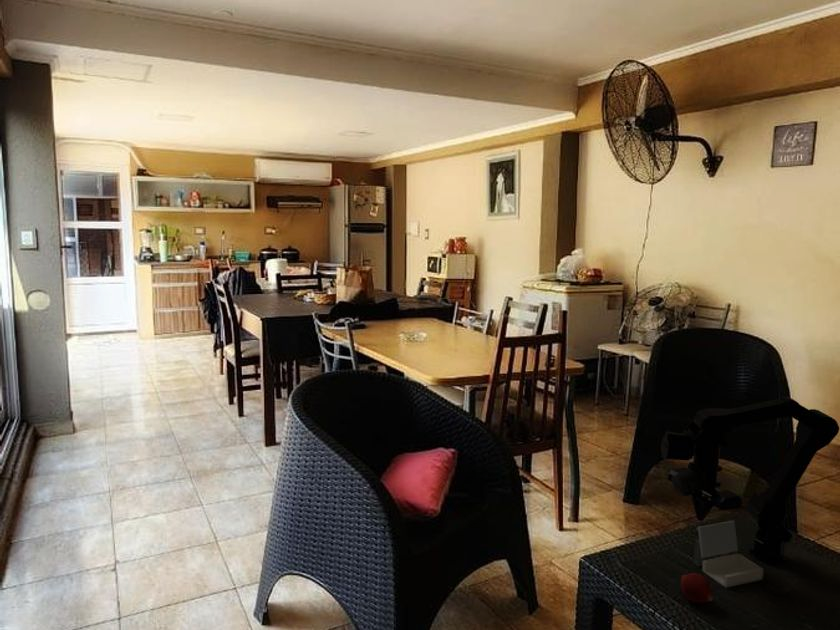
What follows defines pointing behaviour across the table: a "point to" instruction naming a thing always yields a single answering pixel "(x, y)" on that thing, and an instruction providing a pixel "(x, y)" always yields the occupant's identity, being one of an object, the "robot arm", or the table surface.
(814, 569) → the table surface
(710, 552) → the cover
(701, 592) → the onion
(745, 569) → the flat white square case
